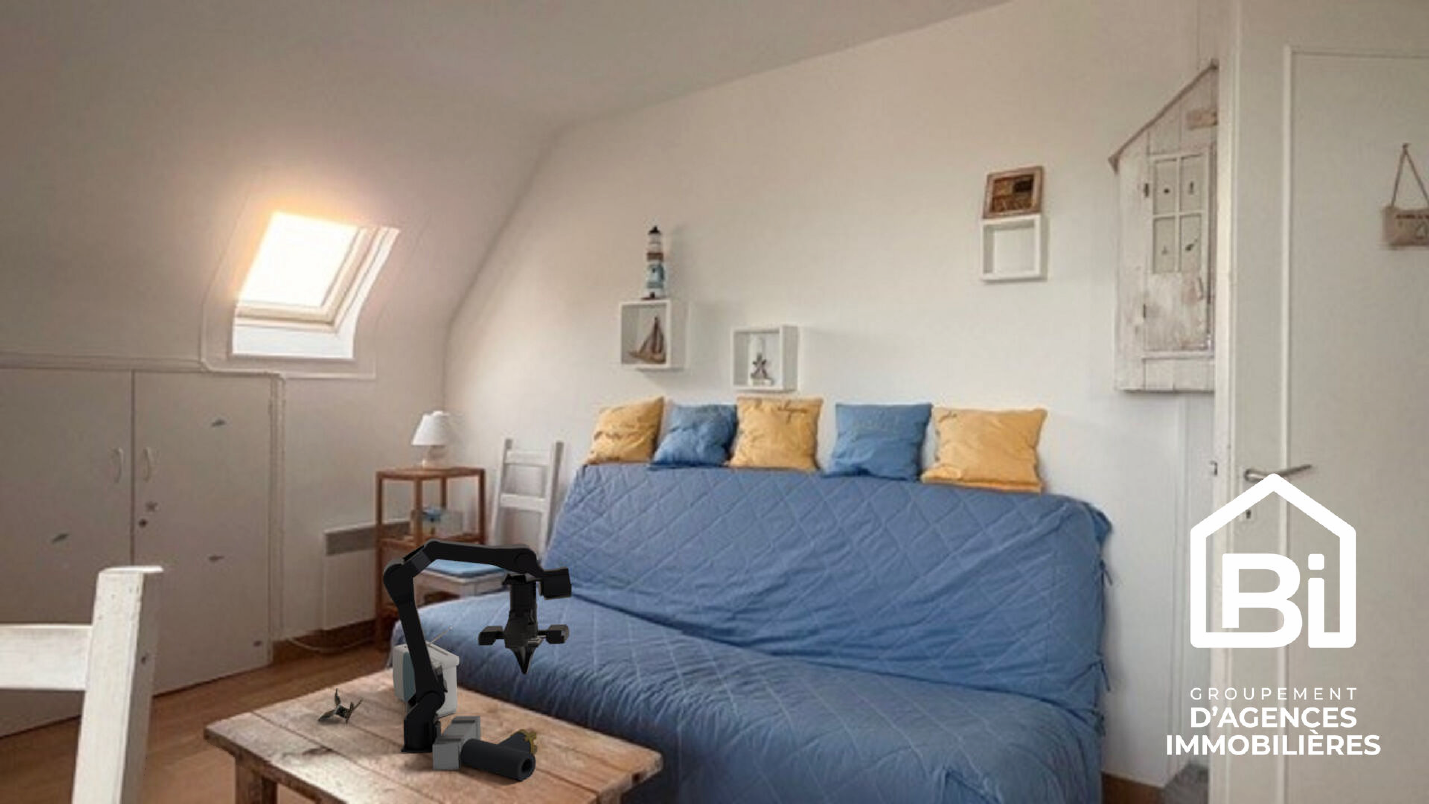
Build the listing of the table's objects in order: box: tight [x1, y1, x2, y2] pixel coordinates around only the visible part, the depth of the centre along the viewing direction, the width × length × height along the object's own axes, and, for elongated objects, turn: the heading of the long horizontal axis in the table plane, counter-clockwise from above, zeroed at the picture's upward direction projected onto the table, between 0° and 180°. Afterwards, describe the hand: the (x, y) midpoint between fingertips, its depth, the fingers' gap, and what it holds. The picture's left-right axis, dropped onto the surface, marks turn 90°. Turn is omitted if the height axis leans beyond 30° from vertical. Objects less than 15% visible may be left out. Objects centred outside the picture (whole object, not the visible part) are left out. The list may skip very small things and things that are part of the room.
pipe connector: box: [460, 728, 538, 782], centre depth 159 cm, size 12×5×15 cm
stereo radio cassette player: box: [392, 626, 460, 719], centre depth 190 cm, size 21×8×20 cm, turn 43°
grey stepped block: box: [432, 715, 482, 771], centre depth 164 cm, size 5×14×5 cm, turn 179°
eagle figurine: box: [317, 688, 363, 724], centre depth 183 cm, size 8×7×9 cm
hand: (525, 673), depth 175 cm, fingers closed
